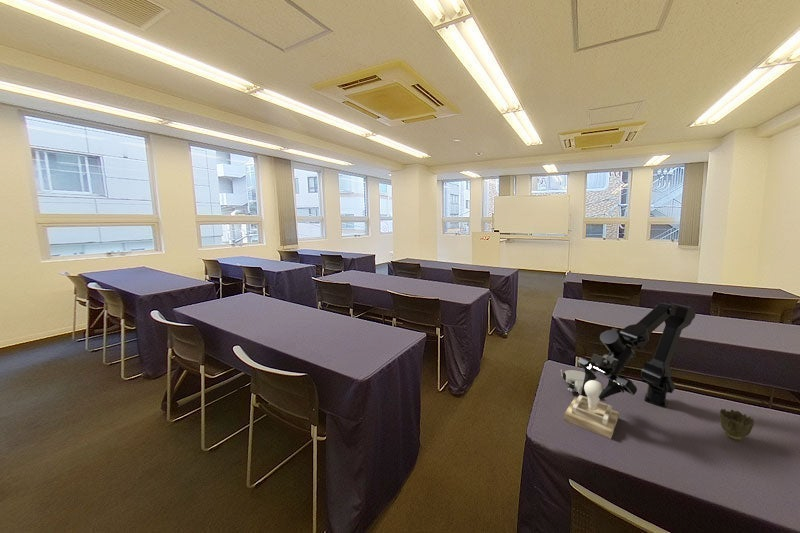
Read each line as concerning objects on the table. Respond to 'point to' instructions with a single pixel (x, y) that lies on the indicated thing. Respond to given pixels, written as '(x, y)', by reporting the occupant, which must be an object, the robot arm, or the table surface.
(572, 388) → the robot toy
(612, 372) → the robot arm
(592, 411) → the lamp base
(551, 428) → the table surface
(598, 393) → the lightbulb
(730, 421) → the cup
